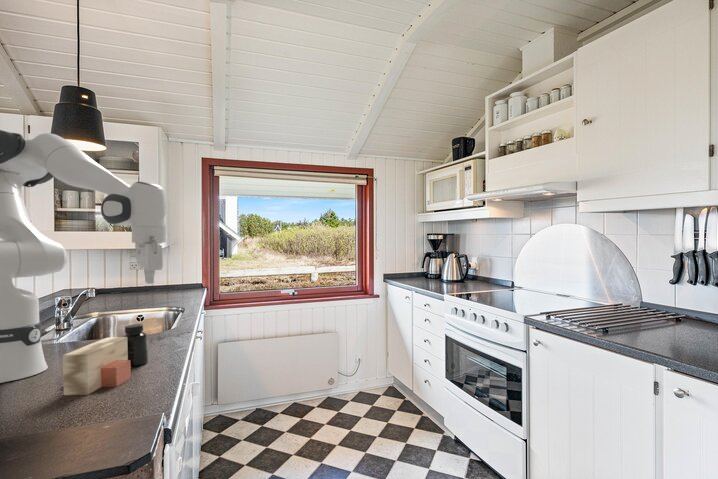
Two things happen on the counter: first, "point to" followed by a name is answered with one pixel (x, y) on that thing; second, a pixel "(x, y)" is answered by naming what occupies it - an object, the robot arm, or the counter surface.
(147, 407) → the counter surface
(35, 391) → the counter surface
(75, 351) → the birch block
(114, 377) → the orange and grey bar
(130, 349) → the supplement bottle
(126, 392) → the counter surface
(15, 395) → the counter surface
